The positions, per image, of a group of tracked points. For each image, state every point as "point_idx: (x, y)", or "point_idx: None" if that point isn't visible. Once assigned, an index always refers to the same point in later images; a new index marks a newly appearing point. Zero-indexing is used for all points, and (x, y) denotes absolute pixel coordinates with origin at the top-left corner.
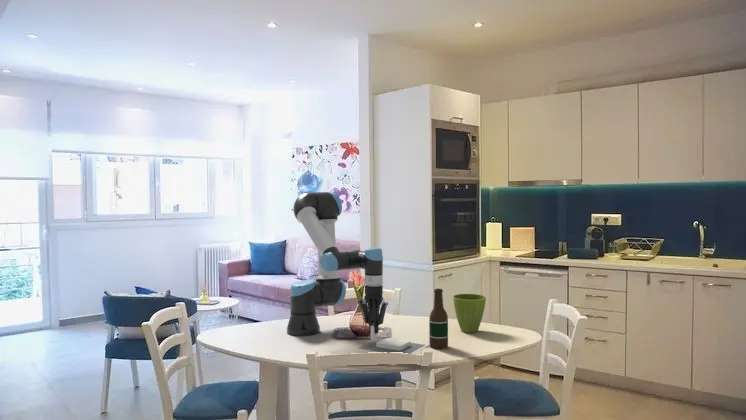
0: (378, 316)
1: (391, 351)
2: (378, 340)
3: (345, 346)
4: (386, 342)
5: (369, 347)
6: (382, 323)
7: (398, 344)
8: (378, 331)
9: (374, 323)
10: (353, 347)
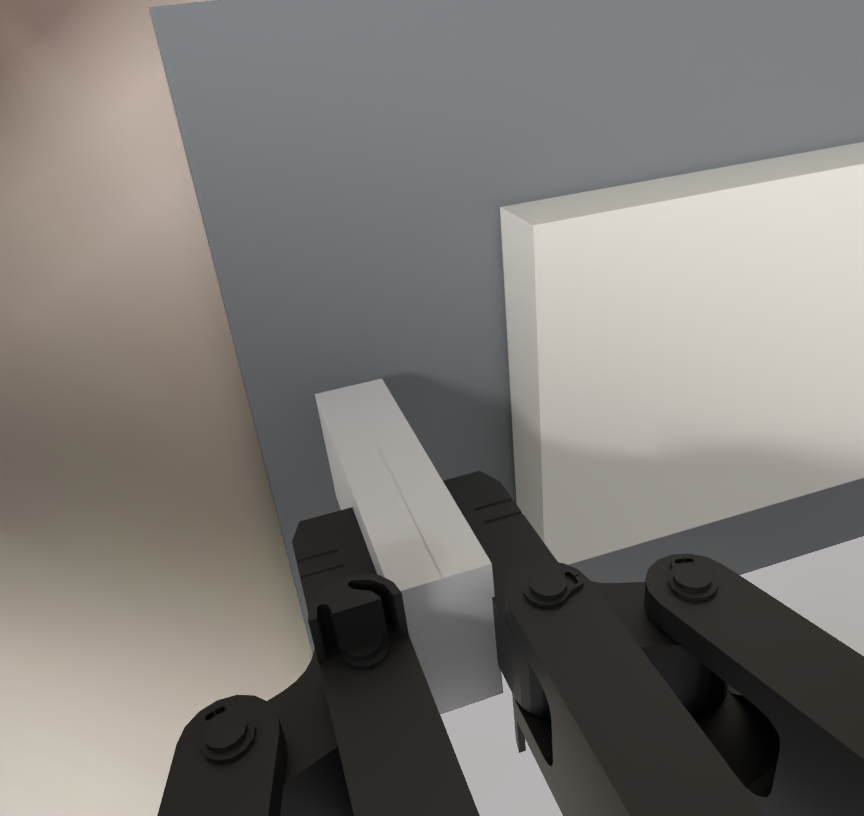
0: (730, 807)
1: (763, 511)
2: (269, 210)
3: (61, 731)
4: (668, 462)
5: None
6: (705, 563)
7: (856, 416)
8: (501, 489)
9: (549, 737)
10: (198, 679)
